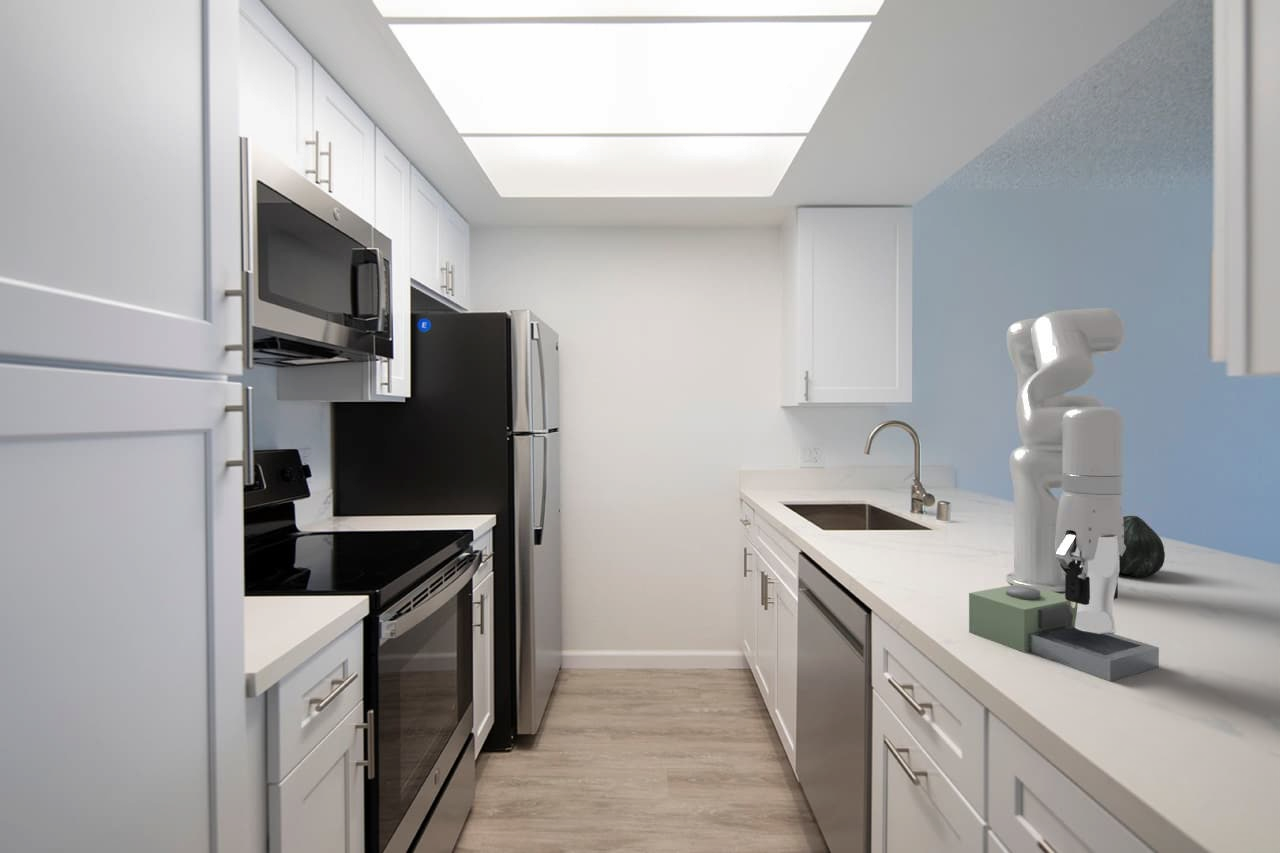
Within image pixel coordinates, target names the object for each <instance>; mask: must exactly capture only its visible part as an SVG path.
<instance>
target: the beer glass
mask: <svg viewBox="0 0 1280 853" xmlns="http://www.w3.org/2000/svg"><path fill="white" fill-rule="evenodd" d="M1071 555H1072V556H1077V557H1081V556H1082V555H1081V551H1079V549H1078V547H1077V545H1076V547H1075V549H1074V550H1073V552H1072V553H1071ZM1072 562H1075V563H1076V564H1077V566H1078V567H1079V568H1080V565H1081V562H1080V561H1076V560H1072ZM1119 563H1120V562H1119V547H1118V535H1115V536H1113V537H1099V539H1098V545H1097V549H1096V553H1095V557H1094V559H1093V560H1091V561H1088V572H1087V575H1086V579H1089V604H1088V605H1083V604H1079V603H1075V602H1072V601H1071V607H1070V613H1069V617H1068V625H1069V626H1070V627H1072V628H1074V629H1077V630H1080V631H1083V632H1088V633H1094V634H1115V633H1116V632H1117V628H1116V623H1115V618H1114V612H1113V610H1114V609H1113V607H1114V606H1113V605H1114V600H1115V599H1114V595H1115V590H1116V586H1117V581H1118V580H1119V574H1120V571H1119ZM1118 582H1119V581H1118Z"/></svg>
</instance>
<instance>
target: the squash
mask: <svg viewBox="0 0 1280 853" xmlns="http://www.w3.org/2000/svg"><path fill="white" fill-rule="evenodd" d="M1123 522H1124V544H1125V546H1126V549H1125V551H1124V553H1123V555H1122V560H1121V562H1120V564H1119V567H1120V571H1119V573H1122V574H1126V575H1130V576H1132V577H1135V578H1144V577H1149V576H1153V575H1154V574H1156V573H1157V572H1159V571H1160V570H1161V569H1162V568H1163V566H1164V563H1165V557H1166V552H1165V546H1164V544H1163V541H1162V539H1161V537H1160V536H1159V535H1158V534H1157V532H1156V531H1155V530H1153V528H1152V527H1151V526H1149V525H1148V524H1147V522H1146V521H1144V520H1143V518H1141V517H1139V516H1138V515H1127V516H1126V515H1125V516H1123Z"/></svg>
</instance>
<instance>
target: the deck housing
mask: <svg viewBox="0 0 1280 853" xmlns="http://www.w3.org/2000/svg"><path fill="white" fill-rule="evenodd" d="M1070 607H1071V601H1068V600H1066V598H1065V593H1063V594H1062V593H1061V592H1052V591H1049V590H1045V589H1041V588H1037V587H1033V586H1029V585H1026V584H1017V585H1013V584H1010V585H1007V586H1000V587H996V588H990V589H984V590H977V591H972V592H969V593H968V615H969V616H968V619H969V620H968V632H969V633H971V634H973V635H977V636H979V637H982V638H984V639H987V640H990V641H993V642H995V643H998V644H1001V645H1003V646H1006V647H1008V648H1012V649H1015V650H1017V651H1020V652H1023V653H1028V652H1029V651H1028V633H1031V632H1036V631H1040V630H1044V629H1049V628H1053V627H1058V626H1062V625H1066V624H1068V617H1069V613H1070Z"/></svg>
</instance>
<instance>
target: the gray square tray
mask: <svg viewBox="0 0 1280 853" xmlns="http://www.w3.org/2000/svg"><path fill="white" fill-rule="evenodd" d="M1028 652H1029V653H1032V654H1035V655H1037V656H1040V657H1043V658H1045V659H1049V660H1051V661H1054V662H1057V663H1060V664H1062V665H1064V666H1068V667H1070V668H1072V669H1076V670H1078V671H1081V672H1084V673H1086V674H1089V675H1092V676H1094V677H1098V678H1099V679H1103V680H1106V681H1109V682H1112V681H1116V680H1120V679H1123V678H1125V677H1126V678H1127V677H1129V676H1133V675H1136V674H1139V673H1143V672H1146V671H1150V670H1153V669H1157V668H1159V666H1160V664H1159V662H1160V659H1159V658H1160V657H1159V656H1160V655H1159V654H1160V647H1158V646H1155V645H1152V644H1148V643H1145V642H1141V641H1139V640H1136V639H1131V638H1128V637H1125V636H1121V635H1118V634H1115V633H1113V634H1094V633H1088V632H1083V631H1080V630H1077V629H1074V628H1072V627H1070V626H1069V625H1068V624H1066V625H1062V626H1058V627H1053V628H1049V629H1044V630H1040V631H1036V632H1031V633H1028Z"/></svg>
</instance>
